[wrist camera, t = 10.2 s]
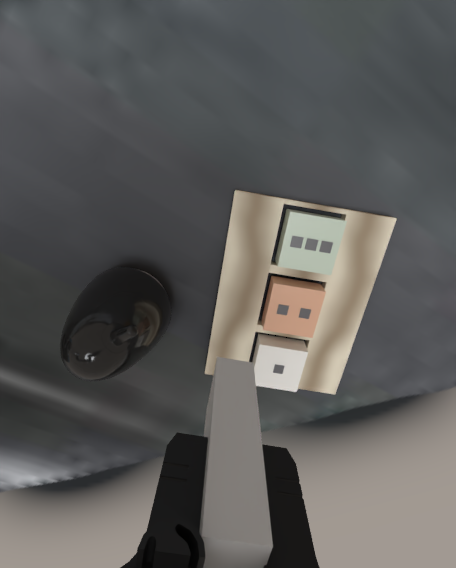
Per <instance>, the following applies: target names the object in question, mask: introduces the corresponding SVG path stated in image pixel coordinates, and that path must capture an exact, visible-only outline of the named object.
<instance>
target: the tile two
mask: <svg viewBox="0 0 456 568" xmlns="http://www.w3.org/2000/svg"><path fill="white" fill-rule="evenodd" d="M325 294H326V291H325V290H324V288H323V287H322V286H321V284H318V283H312V282H307V281H301V280H295V279H289V278H283V277H277V276H271V280H270V284H269V289H268V293H267V298H266V302H265V306H264V311H263V315H262V326H263V330H266V331H272V332H278V333H285V334H291V335H297V336H303V337H309V338H313V335H314V331H315V328H316V324H317V321H318V318H319V314H320V311H321V308H322V304H323V301H324V297H325Z"/></svg>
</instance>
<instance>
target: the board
mask: <svg viewBox="0 0 456 568" xmlns="http://www.w3.org/2000/svg"><path fill="white" fill-rule="evenodd" d="M284 204H288V205H294V206H300V207H305V208H311V209H317V210H323V211H328V212H334V213H340V214H342V215H341V219H343V220H345V221H347V223H346V226H345V230H344V233H343V237H342V240H341V243H340V247H339V250H338V253H337V257H336V260H335V264H334V267H333V270H332V274H331V275H326V274H320V273H314V272H308V271H302V270H296V269H290V268H284V267H278V266H277V263H276V262H272V261H271V260H272V255H273V251H274V246H275V242H276V237H277V232H278V228H279V223H280V219H281V214H282V210H283V205H284ZM396 220H397V218H393V217H389V216H384V215H378V214H372V213H366V212H361V211H355V210H349V209H343V208H338V207H332V206H326V205H320V204H315V203H309V202H303V201H297V200H292V199H286V198H280V197H274V196H269V195H263V194H257V193H251V192H246V191H240V190H235V193H234V199H233V205H232V211H231V218H230V224H229V230H228V236H227V242H226V248H225V254H224V260H223V266H222V272H221V278H220V284H219V290H218V296H217V302H216V308H215V314H214V320H213V326H212V332H211V338H210V344H209V350H208V356H207V363H206V369H205V374H210V375H214V370H215V365H216V360H217V357H222V358H228V359H234V360H240V361H246V362H249V359H250V355H251V350H252V345H253V341H254V336H255V332H261V333H267V334H273V335H279V336H285V337H291V338H298V339H304V340H305V345H306V348H307V350H308V355H307V358H306V362H305V365H304V368H303V372H302V375H301V379H300V382H299V385H298V389H304V390H310V391H317V392H323V393H329V394H336V391H337V388H338V385H339V382H340V379H341V377H342V374H343V371H344V368H345V365H346V362H347V359H348V357H349V354H350V351H351V348H352V345H353V342H354V339H355V337H356V334H357V331H358V328H359V325H360V322H361V319H362V317H363V314H364V311H365V308H366V305H367V302H368V299H369V297H370V294H371V291H372V288H373V285H374V282H375V279H376V277H377V274H378V271H379V268H380V265H381V262H382V260H383V257H384V254H385V251H386V248H387V245H388V242H389V240H390V237H391V234H392V231H393V228H394V225H395V222H396ZM268 273H275V274H280V275H286V276H292V277H298V278H304V279H310V280H316V281H322V285H321V286H322V287H323V288H324V290H325V291H326V294H325V297H324V301H323V304H322V308H321V311H320V314H319V318H318V321H317V324H316V328H315V331H314V335H313V338H309V337H303V336H297V335H291V334H285V333H278V332H272V331H266V330H263V326H262V320H258V318H259V314H260V309H261V305H262V300H263V296H264V291H265V287H266V282H267V278H268Z"/></svg>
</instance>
